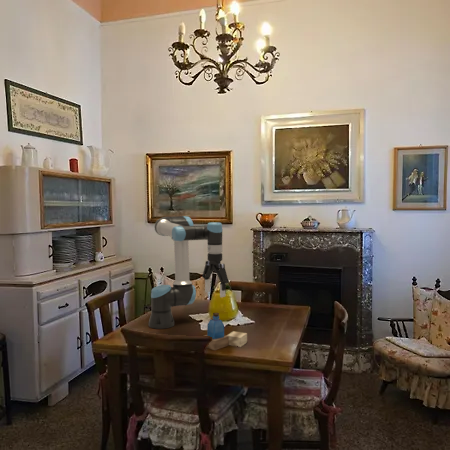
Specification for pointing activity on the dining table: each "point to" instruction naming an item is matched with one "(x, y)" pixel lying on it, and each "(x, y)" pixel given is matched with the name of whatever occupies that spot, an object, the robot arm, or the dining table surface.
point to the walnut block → (219, 343)
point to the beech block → (237, 338)
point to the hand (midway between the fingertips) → (215, 294)
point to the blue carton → (215, 327)
